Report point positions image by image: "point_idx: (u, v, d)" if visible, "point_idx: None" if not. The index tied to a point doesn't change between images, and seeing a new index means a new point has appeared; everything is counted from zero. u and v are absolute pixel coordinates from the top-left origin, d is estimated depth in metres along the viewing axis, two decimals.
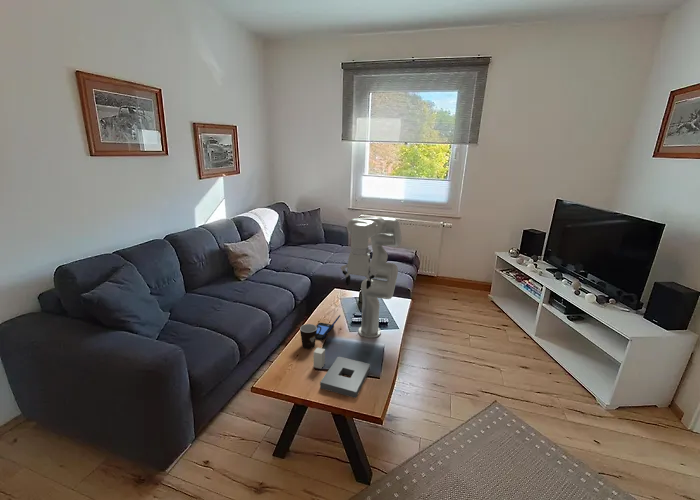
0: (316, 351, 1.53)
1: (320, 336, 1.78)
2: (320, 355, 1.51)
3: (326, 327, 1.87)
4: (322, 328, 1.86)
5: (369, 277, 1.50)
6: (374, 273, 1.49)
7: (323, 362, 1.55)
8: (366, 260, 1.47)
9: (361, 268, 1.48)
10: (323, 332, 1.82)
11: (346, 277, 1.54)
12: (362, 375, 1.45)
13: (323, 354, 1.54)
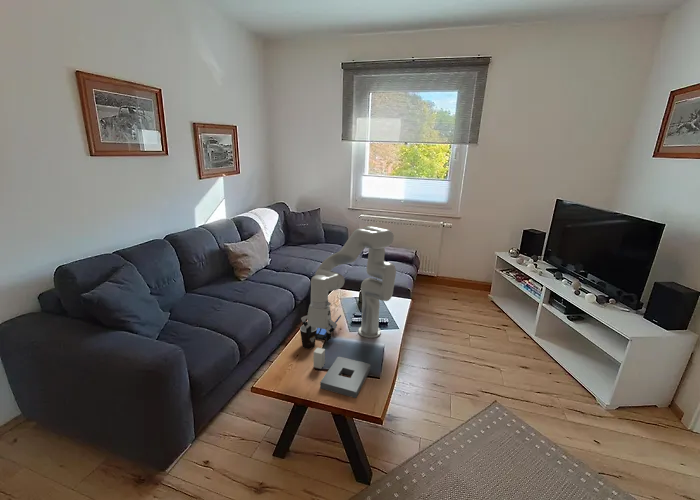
0: (316, 351, 1.53)
1: (321, 336, 1.78)
2: (320, 355, 1.51)
3: None
4: None
5: (329, 330, 1.47)
6: (334, 326, 1.46)
7: (323, 362, 1.55)
8: (325, 313, 1.44)
9: (320, 321, 1.46)
10: (324, 332, 1.82)
11: (306, 328, 1.51)
12: (362, 375, 1.45)
13: (323, 354, 1.54)
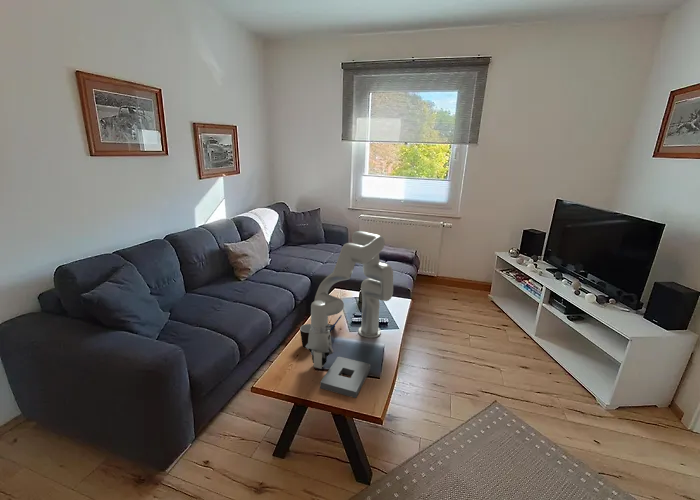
0: (316, 351, 1.53)
1: None
2: (320, 355, 1.51)
3: None
4: None
5: (325, 355, 1.52)
6: (330, 352, 1.51)
7: None
8: (325, 338, 1.48)
9: (321, 345, 1.49)
10: None
11: (312, 355, 1.54)
12: (362, 375, 1.45)
13: None
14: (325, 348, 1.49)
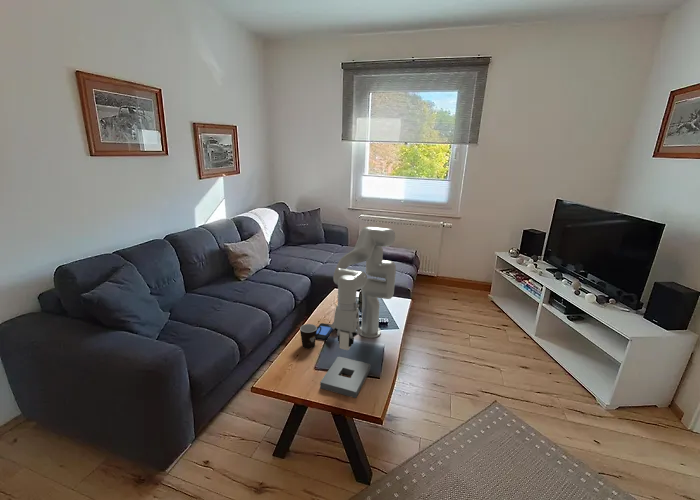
0: (343, 331, 1.40)
1: (323, 337, 1.78)
2: (347, 335, 1.39)
3: (328, 327, 1.87)
4: (324, 329, 1.85)
5: (352, 335, 1.39)
6: (358, 332, 1.38)
7: None
8: (354, 316, 1.35)
9: (348, 324, 1.37)
10: (326, 333, 1.81)
11: None
12: (362, 375, 1.45)
13: None
14: (353, 327, 1.37)
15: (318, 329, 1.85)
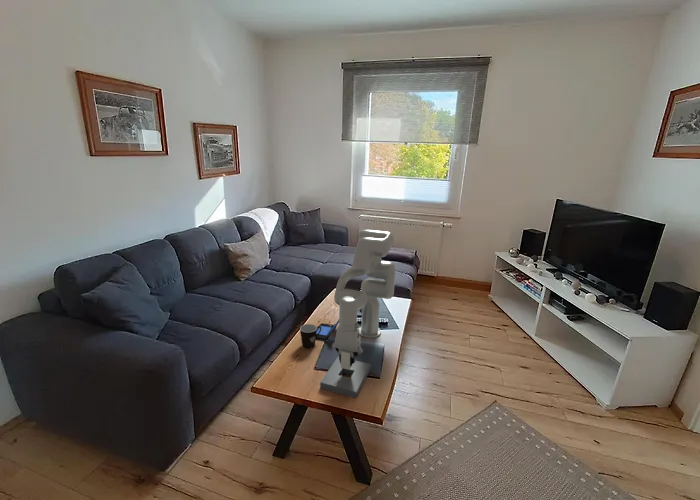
0: (344, 350, 1.42)
1: (324, 337, 1.77)
2: (348, 355, 1.41)
3: (328, 328, 1.86)
4: (325, 329, 1.85)
5: (353, 354, 1.41)
6: (359, 352, 1.40)
7: None
8: (355, 336, 1.38)
9: (349, 344, 1.39)
10: (326, 333, 1.81)
11: (339, 354, 1.44)
12: (362, 375, 1.45)
13: None
14: (354, 347, 1.39)
15: (318, 329, 1.85)
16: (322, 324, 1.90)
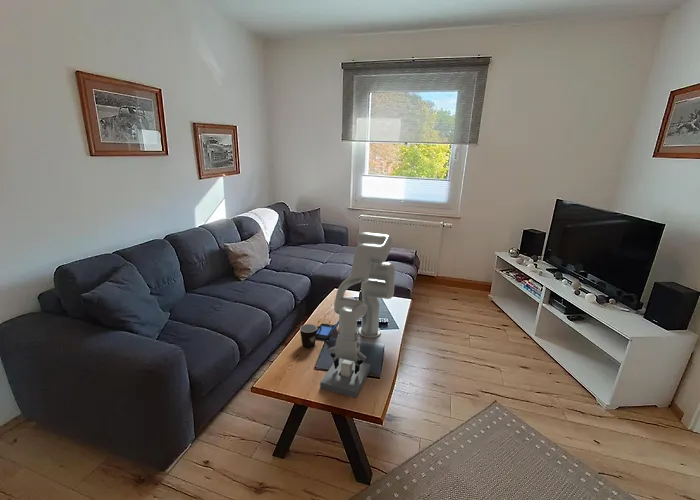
0: (344, 363, 1.44)
1: (324, 337, 1.77)
2: (348, 368, 1.43)
3: (329, 328, 1.86)
4: (325, 329, 1.85)
5: (357, 362, 1.42)
6: (363, 359, 1.41)
7: (351, 375, 1.46)
8: (354, 346, 1.39)
9: (349, 353, 1.40)
10: (327, 333, 1.81)
11: None
12: (362, 375, 1.45)
13: (351, 366, 1.45)
14: (354, 357, 1.40)
15: (319, 329, 1.84)
16: (322, 324, 1.90)
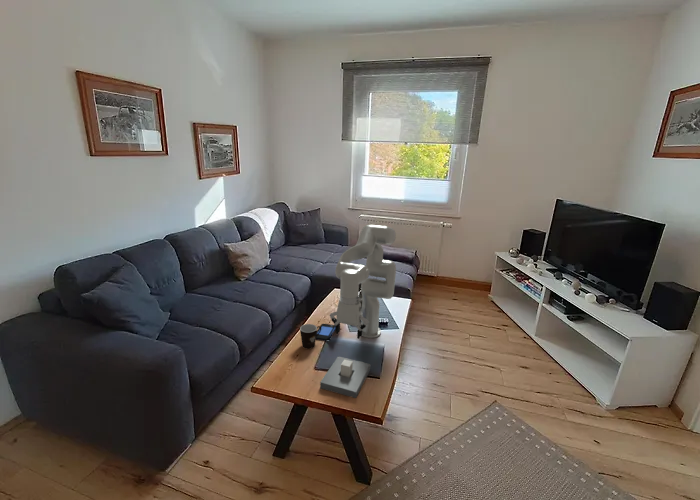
0: (343, 363, 1.44)
1: (325, 337, 1.77)
2: (348, 368, 1.43)
3: (330, 328, 1.86)
4: (326, 329, 1.85)
5: (360, 327, 1.38)
6: (365, 323, 1.38)
7: (351, 375, 1.46)
8: (356, 309, 1.36)
9: (351, 318, 1.37)
10: (328, 333, 1.81)
11: (335, 325, 1.43)
12: (362, 375, 1.45)
13: (351, 366, 1.45)
14: (356, 321, 1.37)
15: None
16: (323, 324, 1.90)
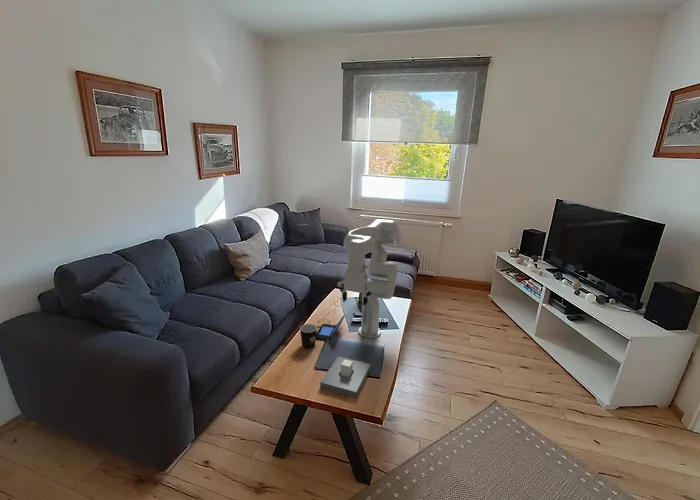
0: (344, 363, 1.44)
1: (326, 337, 1.77)
2: (348, 368, 1.43)
3: (330, 328, 1.86)
4: (327, 329, 1.85)
5: (366, 294, 1.48)
6: (371, 290, 1.47)
7: (351, 375, 1.46)
8: (363, 277, 1.45)
9: (358, 285, 1.46)
10: (329, 333, 1.81)
11: (342, 293, 1.52)
12: (362, 375, 1.45)
13: (351, 366, 1.45)
14: (362, 288, 1.46)
15: (321, 330, 1.84)
16: (324, 325, 1.90)
